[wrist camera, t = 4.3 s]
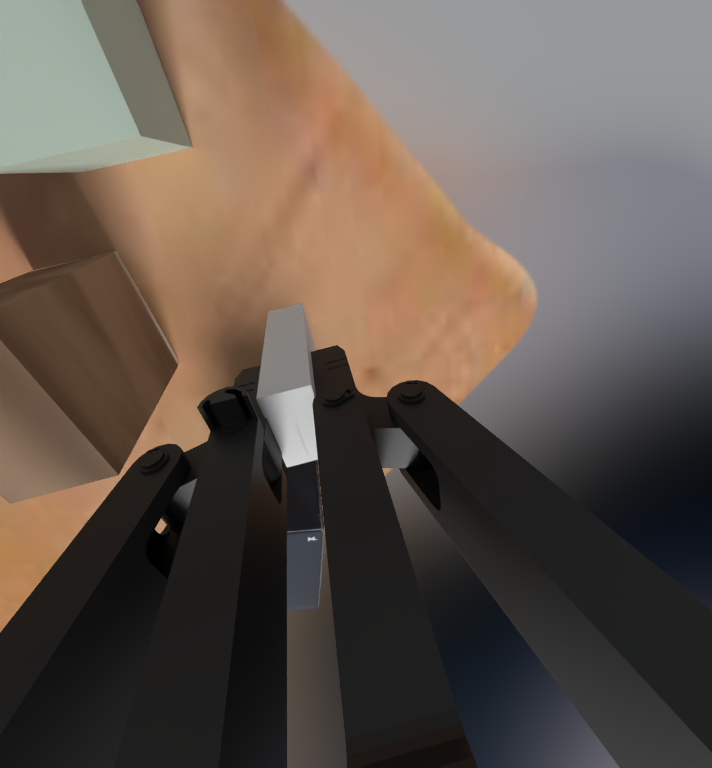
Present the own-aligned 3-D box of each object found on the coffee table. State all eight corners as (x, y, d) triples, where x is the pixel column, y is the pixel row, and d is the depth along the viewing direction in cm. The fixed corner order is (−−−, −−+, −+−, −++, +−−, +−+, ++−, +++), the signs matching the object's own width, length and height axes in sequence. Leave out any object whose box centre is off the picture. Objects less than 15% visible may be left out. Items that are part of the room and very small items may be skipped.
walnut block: (112, 379, 25) (10, 503, 16) (33, 270, 20) (-175, 354, 11) (179, 362, 25) (118, 475, 16) (116, 250, 20) (-20, 317, 11)
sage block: (83, 172, 18) (-34, 174, 12) (-4, 14, 15) (-236, -110, 8) (192, 147, 18) (140, 136, 12) (132, -13, 15) (12, -155, 8)
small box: (239, 426, 29) (219, 537, 20) (316, 423, 30) (328, 527, 21) (249, 507, 34) (237, 622, 26) (313, 501, 36) (322, 609, 27)
